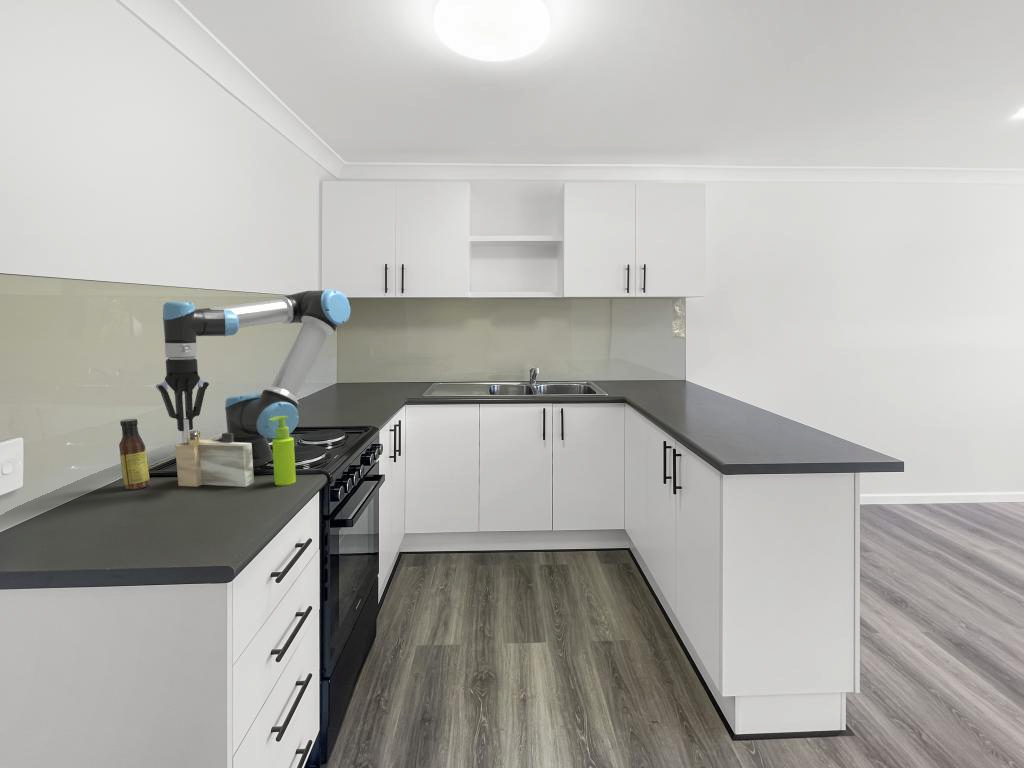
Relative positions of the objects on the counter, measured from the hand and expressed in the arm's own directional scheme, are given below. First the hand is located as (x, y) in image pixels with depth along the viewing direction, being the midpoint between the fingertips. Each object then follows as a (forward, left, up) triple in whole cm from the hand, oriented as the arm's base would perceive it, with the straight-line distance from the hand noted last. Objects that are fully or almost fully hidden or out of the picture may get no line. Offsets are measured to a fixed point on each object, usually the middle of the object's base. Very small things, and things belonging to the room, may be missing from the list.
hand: (186, 441), depth 157 cm
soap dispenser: (-10, +23, -14) cm, 29 cm away
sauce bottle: (0, -17, -14) cm, 22 cm away
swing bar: (-3, 0, 0) cm, 3 cm away
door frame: (-7, +4, -14) cm, 16 cm away
